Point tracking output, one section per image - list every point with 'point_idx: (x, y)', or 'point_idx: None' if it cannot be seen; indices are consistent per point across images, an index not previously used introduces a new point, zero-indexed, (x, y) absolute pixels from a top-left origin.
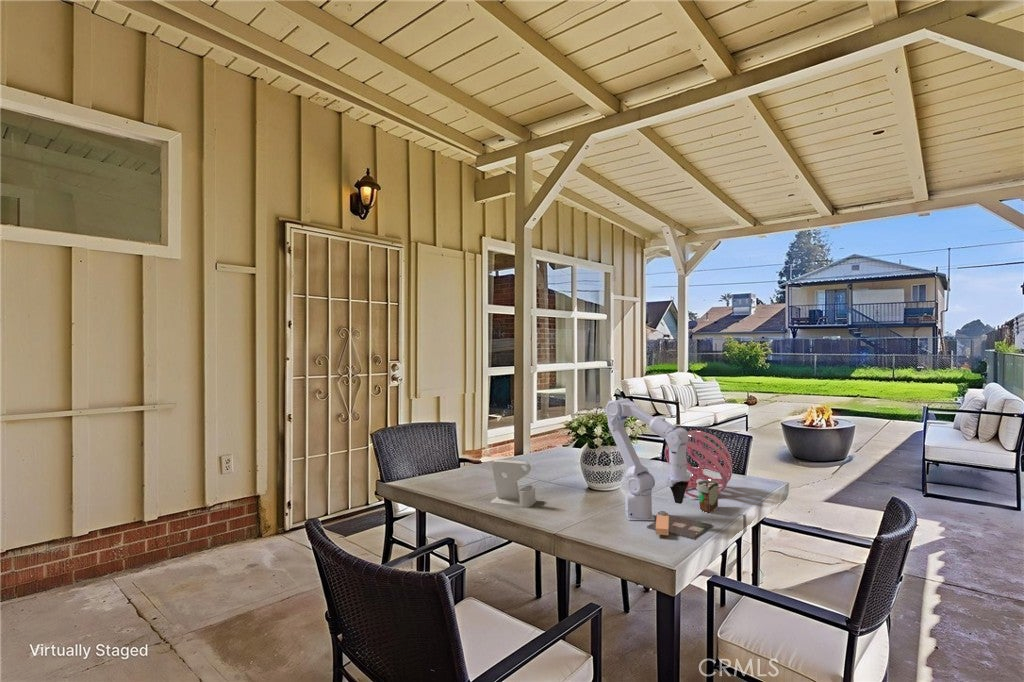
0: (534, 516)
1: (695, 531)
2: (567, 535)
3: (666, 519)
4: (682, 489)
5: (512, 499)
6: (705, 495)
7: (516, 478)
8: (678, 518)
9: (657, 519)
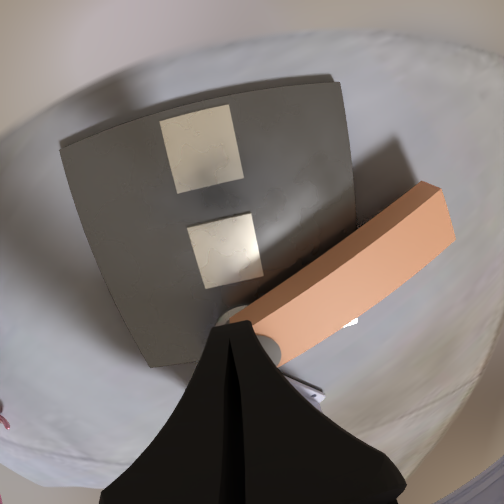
0: (415, 444)
1: (241, 125)
2: (486, 357)
3: (317, 294)
4: (323, 438)
5: None
6: None
7: None
8: (143, 315)
9: (349, 318)
